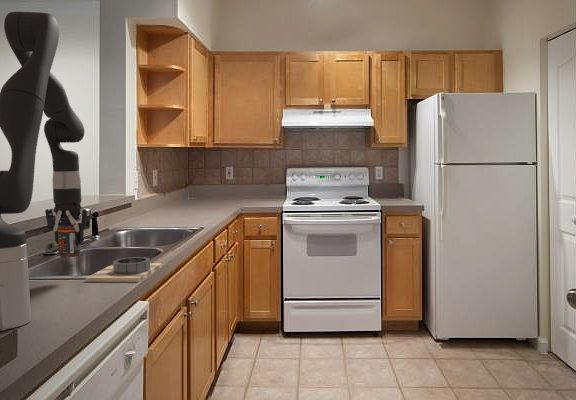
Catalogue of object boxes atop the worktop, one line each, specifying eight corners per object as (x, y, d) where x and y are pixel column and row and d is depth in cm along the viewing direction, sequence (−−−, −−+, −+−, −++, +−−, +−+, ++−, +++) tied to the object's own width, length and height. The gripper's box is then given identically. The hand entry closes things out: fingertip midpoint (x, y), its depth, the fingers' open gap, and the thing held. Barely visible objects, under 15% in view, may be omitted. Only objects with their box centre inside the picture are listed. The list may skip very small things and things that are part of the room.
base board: (139, 281, 145) (138, 277, 145) (85, 281, 146) (85, 277, 146) (161, 266, 165) (161, 263, 165) (114, 266, 166) (114, 263, 166)
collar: (139, 274, 149) (138, 264, 148) (106, 273, 151) (106, 263, 151) (156, 266, 159) (156, 257, 159) (126, 265, 162) (125, 256, 161)
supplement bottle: (54, 257, 146) (52, 218, 146) (71, 253, 152) (69, 216, 151) (68, 258, 144) (66, 219, 143) (85, 255, 149) (83, 217, 148)
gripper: (36, 187, 144) (39, 245, 145) (80, 187, 141) (83, 246, 142) (54, 186, 152) (56, 241, 153) (96, 186, 148) (98, 242, 150)
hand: (69, 243), depth 147 cm, fingers closed on supplement bottle, 6 cm apart
